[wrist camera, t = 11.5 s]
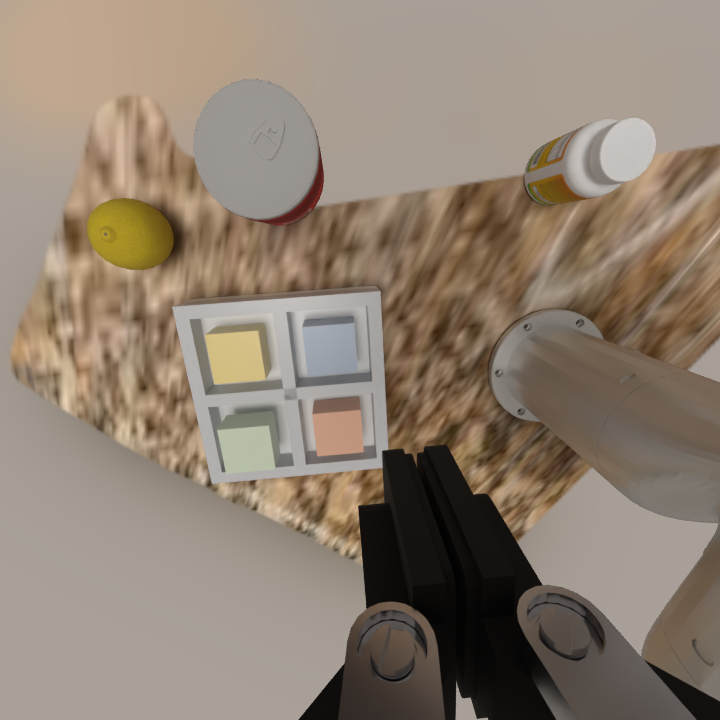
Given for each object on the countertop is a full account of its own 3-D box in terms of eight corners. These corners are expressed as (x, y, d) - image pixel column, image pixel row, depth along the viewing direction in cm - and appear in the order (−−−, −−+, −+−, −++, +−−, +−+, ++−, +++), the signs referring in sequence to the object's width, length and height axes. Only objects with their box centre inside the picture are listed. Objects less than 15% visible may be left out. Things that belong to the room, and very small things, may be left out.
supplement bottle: (578, 200, 36) (663, 186, 26) (523, 209, 35) (589, 199, 26) (579, 137, 34) (670, 98, 25) (521, 147, 34) (591, 112, 25)
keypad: (375, 285, 37) (380, 291, 33) (383, 444, 42) (389, 467, 38) (191, 298, 36) (172, 306, 32) (224, 458, 42) (212, 483, 37)
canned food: (336, 152, 33) (337, 111, 23) (306, 239, 35) (293, 239, 25) (253, 113, 32) (212, 50, 21) (226, 206, 34) (177, 190, 23)
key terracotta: (358, 397, 38) (360, 409, 35) (361, 436, 39) (363, 452, 37) (313, 401, 38) (312, 414, 35) (318, 440, 39) (317, 456, 36)
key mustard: (264, 323, 35) (258, 330, 32) (271, 369, 36) (265, 379, 34) (215, 327, 35) (204, 334, 32) (224, 372, 36) (214, 384, 33)
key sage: (274, 410, 36) (268, 425, 33) (280, 452, 38) (275, 469, 35) (226, 415, 36) (217, 430, 33) (234, 456, 37) (226, 474, 35)
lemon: (190, 266, 35) (150, 274, 28) (130, 265, 35) (72, 272, 27) (183, 204, 34) (138, 193, 26) (119, 202, 33) (55, 191, 26)
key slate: (353, 316, 35) (354, 323, 32) (356, 362, 37) (358, 372, 34) (304, 320, 35) (301, 327, 32) (309, 365, 37) (307, 376, 34)
